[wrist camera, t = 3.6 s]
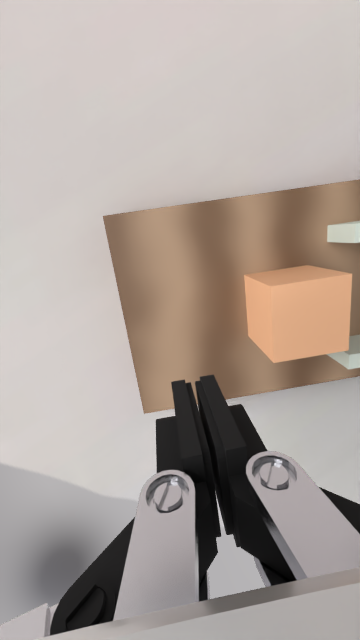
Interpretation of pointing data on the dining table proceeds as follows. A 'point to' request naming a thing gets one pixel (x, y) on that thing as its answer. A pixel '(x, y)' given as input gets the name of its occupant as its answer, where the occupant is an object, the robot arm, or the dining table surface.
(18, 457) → the dining table surface
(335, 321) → the terracotta block
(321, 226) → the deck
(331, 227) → the tunnel walls
